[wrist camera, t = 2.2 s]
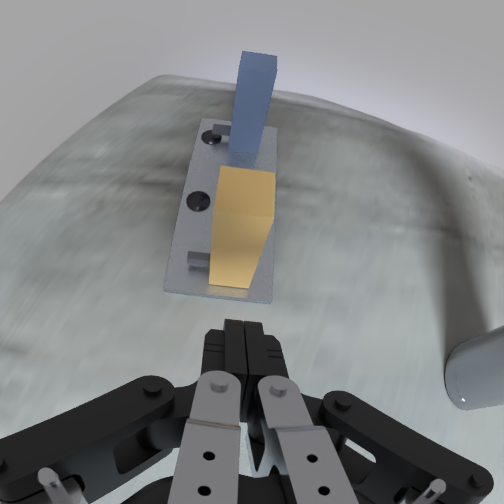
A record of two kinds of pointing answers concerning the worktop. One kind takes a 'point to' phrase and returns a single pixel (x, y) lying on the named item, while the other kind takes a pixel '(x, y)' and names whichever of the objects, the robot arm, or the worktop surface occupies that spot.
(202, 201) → the bolt plate
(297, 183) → the worktop surface
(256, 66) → the fixed leg
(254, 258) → the block
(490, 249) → the worktop surface
